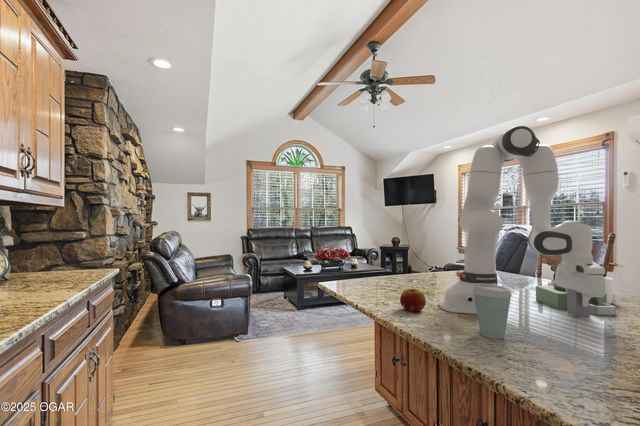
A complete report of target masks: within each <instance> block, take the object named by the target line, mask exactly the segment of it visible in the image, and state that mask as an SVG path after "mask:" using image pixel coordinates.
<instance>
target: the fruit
mask: <svg viewBox="0 0 640 426" xmlns="http://www.w3.org/2000/svg"><path fill="white" fill-rule="evenodd" d="M426 302H427V299H426V296H425V294H424V292H423V291H421V290H420V289H418V288H408V289H405V290H403V291H402V293H400V296H399V303H400V306H401V307H402V308H403V309H405V310H406V311H408V312H412V313H417V312H420V311H422V310H423V309H424V308H425V306H426V304H427V303H426Z"/></svg>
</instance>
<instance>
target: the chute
mask: <svg viewBox="0 0 640 426" xmlns="http://www.w3.org/2000/svg"><path fill="white" fill-rule="evenodd" d="M582 298H583V297H582V293H579V292H577V291H574V290H570V289H567V309H566V311H567V314H568V315H570V316H572V315H573V316H572V317H575V318H590V314H591V313H590V309H589V302H588V306H587V307H584V306H581V305H580V300H581V301H582ZM591 298H594V297H592V296H591Z"/></svg>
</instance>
